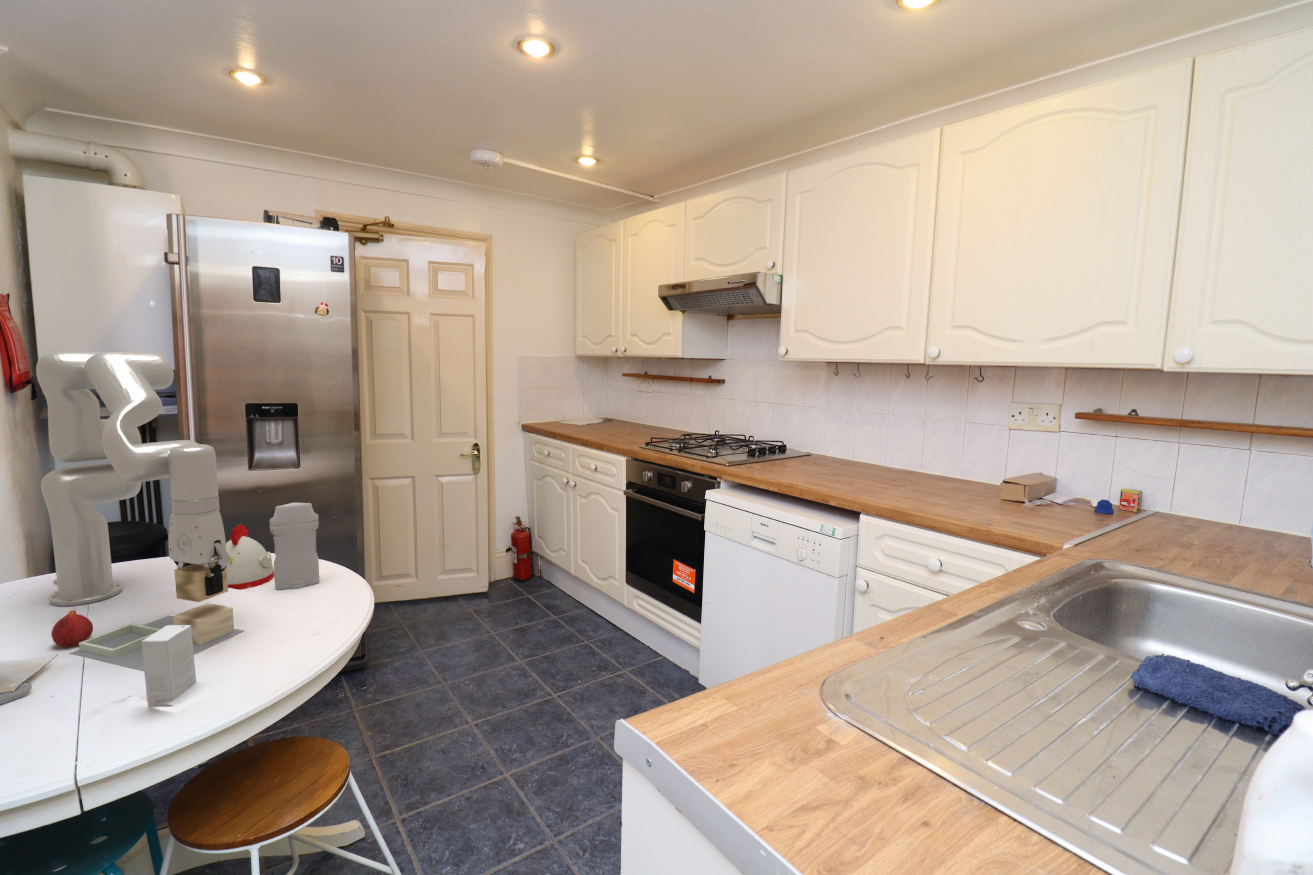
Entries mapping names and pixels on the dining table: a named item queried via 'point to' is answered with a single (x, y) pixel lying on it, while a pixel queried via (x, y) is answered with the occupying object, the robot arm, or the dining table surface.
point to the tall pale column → (295, 546)
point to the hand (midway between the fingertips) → (202, 590)
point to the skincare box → (168, 664)
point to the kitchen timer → (247, 561)
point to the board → (136, 656)
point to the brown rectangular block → (207, 621)
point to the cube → (195, 583)
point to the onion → (72, 629)
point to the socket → (94, 648)
